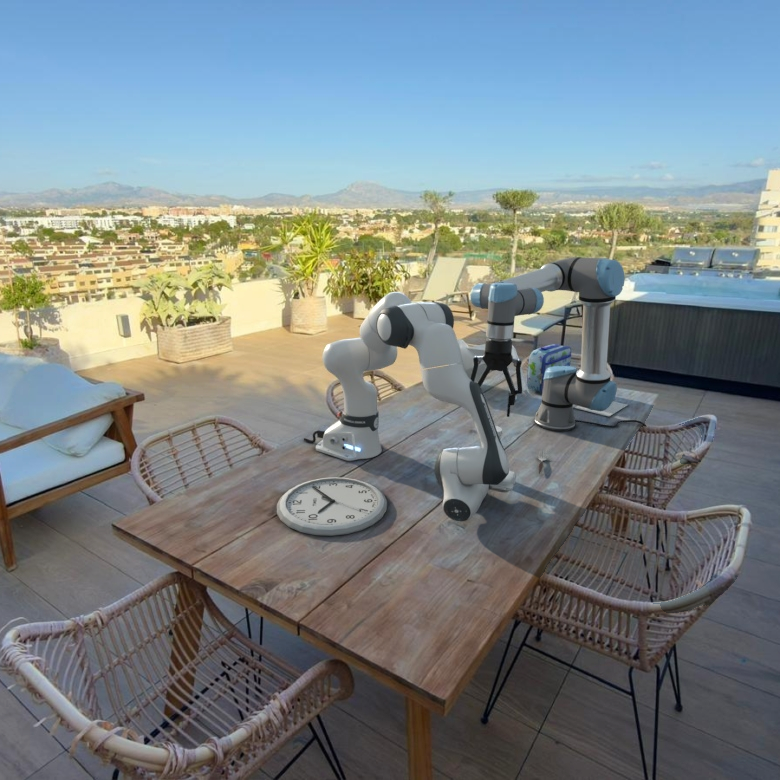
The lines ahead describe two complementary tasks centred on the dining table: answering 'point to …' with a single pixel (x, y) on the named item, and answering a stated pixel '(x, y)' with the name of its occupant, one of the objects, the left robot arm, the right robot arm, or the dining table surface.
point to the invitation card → (609, 411)
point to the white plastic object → (479, 350)
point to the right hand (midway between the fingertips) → (493, 413)
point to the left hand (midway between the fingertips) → (485, 464)
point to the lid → (499, 431)
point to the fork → (542, 460)
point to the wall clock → (331, 506)
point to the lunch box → (545, 363)
